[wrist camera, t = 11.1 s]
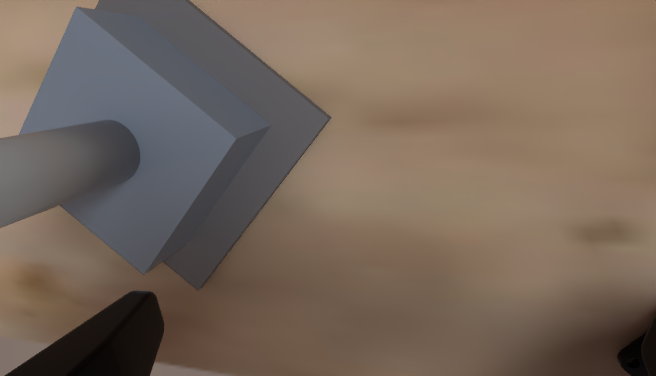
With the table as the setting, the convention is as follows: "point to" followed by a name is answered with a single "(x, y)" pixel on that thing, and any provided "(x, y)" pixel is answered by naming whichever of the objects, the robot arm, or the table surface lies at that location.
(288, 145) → the rubber mat
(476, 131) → the table surface
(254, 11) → the table surface
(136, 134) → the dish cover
